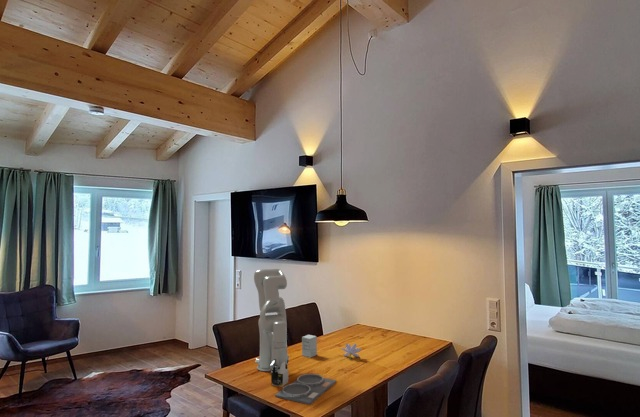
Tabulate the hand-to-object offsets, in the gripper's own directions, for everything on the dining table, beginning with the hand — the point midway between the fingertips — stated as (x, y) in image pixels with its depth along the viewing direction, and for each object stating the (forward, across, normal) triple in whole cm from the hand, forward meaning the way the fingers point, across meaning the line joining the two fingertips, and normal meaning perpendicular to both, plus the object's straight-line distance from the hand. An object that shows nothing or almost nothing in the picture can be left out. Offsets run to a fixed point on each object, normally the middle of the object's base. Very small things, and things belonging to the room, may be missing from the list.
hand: (280, 376), depth 205 cm
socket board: (+4, 0, +17) cm, 17 cm away
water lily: (+4, -57, +20) cm, 61 cm away
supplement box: (+4, -49, -8) cm, 50 cm away
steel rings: (+3, 0, +15) cm, 15 cm away
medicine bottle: (+4, 0, 0) cm, 4 cm away
